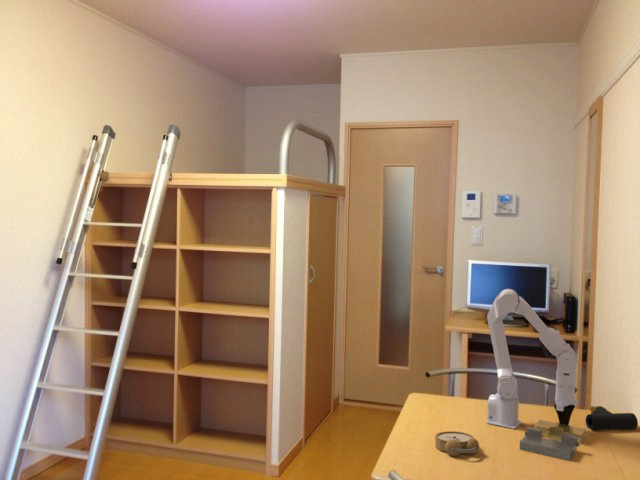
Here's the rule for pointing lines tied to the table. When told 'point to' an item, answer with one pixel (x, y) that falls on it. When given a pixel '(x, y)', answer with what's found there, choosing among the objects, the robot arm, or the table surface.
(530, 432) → the fixed leaf
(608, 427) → the pipe connector
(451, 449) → the alarm clock
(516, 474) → the table surface
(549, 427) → the tan flat block
